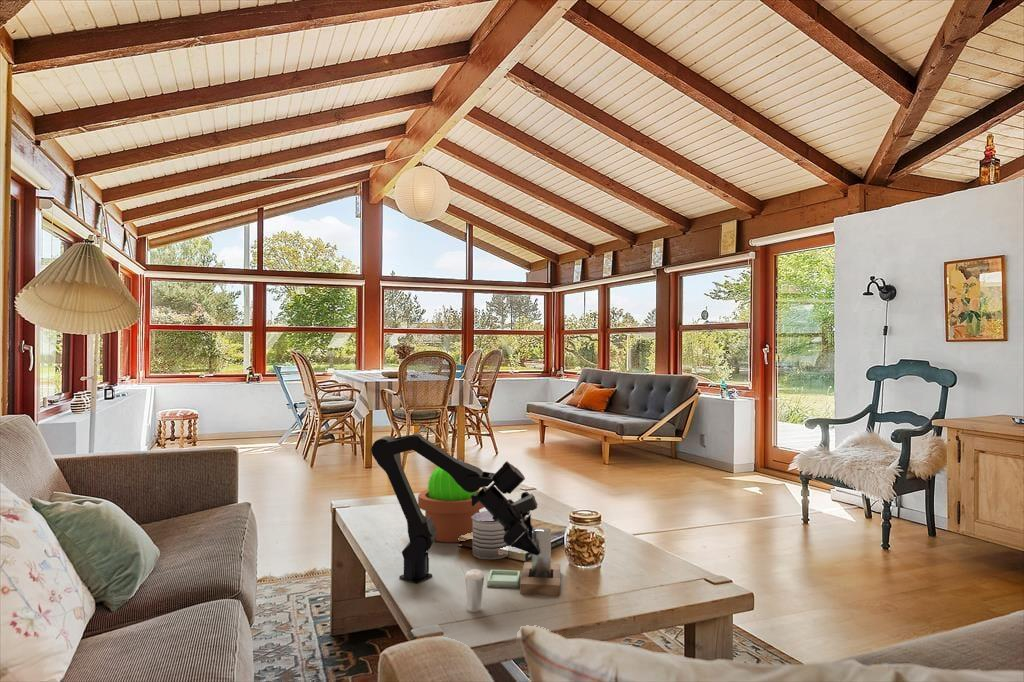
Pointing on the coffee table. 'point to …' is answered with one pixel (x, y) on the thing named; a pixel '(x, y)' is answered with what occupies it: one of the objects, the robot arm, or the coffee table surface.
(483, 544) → the can
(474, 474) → the robot arm
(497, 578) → the tray
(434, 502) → the potted cactus
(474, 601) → the milkshake
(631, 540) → the coffee table surface
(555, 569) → the pocket block
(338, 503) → the coffee table surface
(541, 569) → the steel cylinder
